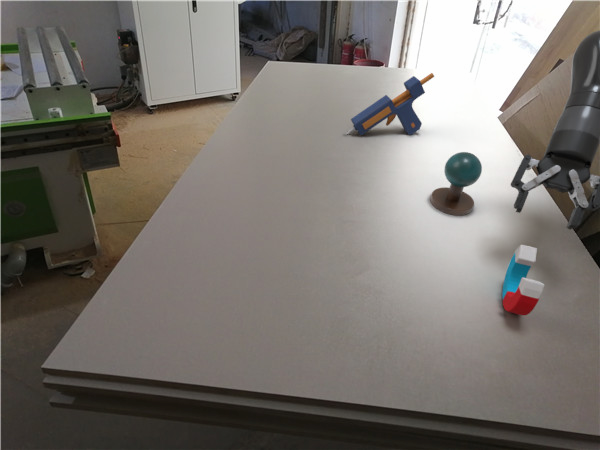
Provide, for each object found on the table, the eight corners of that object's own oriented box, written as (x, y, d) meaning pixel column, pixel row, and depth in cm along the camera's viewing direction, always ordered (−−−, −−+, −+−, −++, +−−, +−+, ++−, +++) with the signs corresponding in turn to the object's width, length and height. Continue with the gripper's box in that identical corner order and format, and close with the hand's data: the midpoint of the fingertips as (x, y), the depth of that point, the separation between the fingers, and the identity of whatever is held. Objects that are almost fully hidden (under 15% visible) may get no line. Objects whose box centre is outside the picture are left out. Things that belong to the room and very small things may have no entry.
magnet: (500, 279, 78) (520, 240, 72) (515, 283, 78) (536, 244, 72) (504, 325, 70) (527, 285, 63) (521, 330, 69) (546, 289, 63)
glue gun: (361, 159, 135) (339, 126, 126) (438, 102, 131) (422, 64, 122) (368, 167, 131) (347, 134, 121) (449, 108, 126) (433, 69, 117)
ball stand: (475, 200, 101) (494, 151, 92) (467, 220, 94) (487, 169, 85) (436, 188, 104) (451, 140, 96) (425, 206, 97) (440, 156, 89)
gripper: (538, 118, 72) (505, 201, 71) (630, 140, 67) (596, 230, 66) (529, 135, 79) (499, 211, 78) (612, 156, 74) (581, 237, 73)
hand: (543, 219), depth 72 cm, fingers open, 8 cm apart
